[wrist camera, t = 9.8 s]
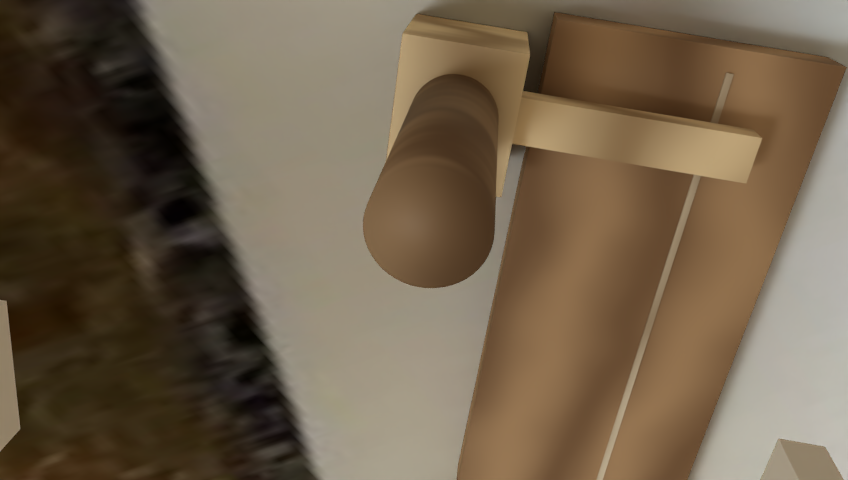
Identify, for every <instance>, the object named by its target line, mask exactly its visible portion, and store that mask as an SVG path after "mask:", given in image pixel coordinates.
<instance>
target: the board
mask: <svg viewBox="0 0 848 480" xmlns="http://www.w3.org/2000/svg"><path fill="white" fill-rule="evenodd" d="M846 68H847V67H845V66H843V65H842V64H840V63H838V62H836V61H834V60H832V59H830V58H828V57H823V56H817V55H811V54H805V53H799V52H793V51H787V50H781V49H775V48H769V47H763V46H757V45H751V44H745V43H738V42H732V41H726V40H720V39H714V38H708V37H702V36H696V35H690V34H684V33H678V32H672V31H666V30H660V29H654V28H648V27H642V26H636V25H629V24H623V23H617V22H611V21H605V20H599V19H593V18H587V17H581V16H575V15H569V14H563V13H557V12H554V17H553V22H552V26H551V31H550V36H549V40H548V45H547V50H546V54H545V59H544V64H543V69H542V73H541V78H540V83H539V87H538V92H537V93H538V94H544V95H550V96H556V97H562V98H568V99H574V100H580V101H586V102H592V103H598V104H604V105H610V106H616V107H622V108H628V109H634V110H639V111H645V112H651V113H657V114H663V115H669V116H675V117H681V118H687V119H693V120H699V121H705V122H711V123H717V124H723V125H729V126H735V127H740V128H746V129H752V130H754V131H755V132H756V133H757V134H758V135H759V136H760V137H761V138H762V140H761V143H760V146H759V149H758V152H757V155H756V157H755V160H754V163H753V166H752V169H751V172H750V174H749V177H748V180H747V183H740V182H734V181H728V180H722V179H716V178H711V177H705V176H699V175H693V174H687V173H681V172H675V171H669V170H664V169H658V168H652V167H646V166H640V165H634V164H628V163H623V162H617V161H611V160H605V159H599V158H593V157H587V156H581V155H576V154H570V153H564V152H558V151H552V150H546V149H540V148H534V147H529V146H526V148H525V153H524V158H523V162H522V167H521V172H520V177H519V181H518V186H517V191H516V195H515V200H514V205H513V209H512V214H511V219H510V224H509V228H508V233H507V238H506V242H505V247H504V252H503V256H502V261H501V266H500V271H499V275H498V280H497V285H496V289H495V294H494V299H493V303H492V308H491V313H490V318H489V322H488V327H487V332H486V336H485V341H484V346H483V350H482V355H481V360H480V364H479V369H478V374H477V379H476V383H475V388H474V393H473V397H472V402H471V407H470V411H469V416H468V421H467V426H466V430H465V435H464V440H463V444H462V449H461V454H460V458H459V463H458V472H457V480H687V479H688V476H689V474H690V471H691V468H692V466H693V463H694V461H695V458H696V456H697V453H698V450H699V448H700V445H701V443H702V440H703V437H704V435H705V432H706V430H707V427H708V424H709V422H710V419H711V417H712V414H713V412H714V409H715V406H716V404H717V401H718V399H719V396H720V393H721V391H722V388H723V386H724V383H725V381H726V378H727V375H728V373H729V370H730V368H731V365H732V362H733V360H734V357H735V355H736V352H737V349H738V347H739V344H740V342H741V339H742V337H743V334H744V331H745V329H746V326H747V324H748V321H749V318H750V316H751V313H752V311H753V308H754V306H755V303H756V300H757V298H758V295H759V293H760V290H761V287H762V285H763V282H764V280H765V277H766V274H767V272H768V269H769V267H770V264H771V262H772V259H773V256H774V254H775V251H776V249H777V246H778V243H779V241H780V238H781V236H782V233H783V231H784V228H785V225H786V223H787V220H788V218H789V215H790V212H791V210H792V207H793V205H794V202H795V200H796V197H797V194H798V192H799V189H800V187H801V184H802V181H803V179H804V176H805V174H806V171H807V168H808V166H809V163H810V161H811V158H812V156H813V153H814V150H815V148H816V145H817V143H818V140H819V137H820V135H821V132H822V130H823V127H824V125H825V122H826V119H827V117H828V114H829V112H830V109H831V106H832V104H833V101H834V99H835V96H836V93H837V91H838V88H839V86H840V83H841V81H842V78H843V75H844V73H845V70H846Z"/></svg>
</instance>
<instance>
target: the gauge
mask: <svg viewBox="0 0 848 480" xmlns="http://www.w3.org/2000/svg"><path fill="white" fill-rule="evenodd" d="M529 58H530V49H529V42H528V34H527V32H523V31H517V30H511V29H505V28H499V27H493V26H487V25H481V24H475V23H469V22H463V21H457V20H451V19H445V18H439V17H433V16H427V15H421V14H416V15H415V17H414V18H413V19H412V21H411V22H410V24H409V25H408V26H407V28H406V29H405V31H404V32H403V34H402V42H401V49H400V57H399V65H398V72H397V80H396V88H395V96H394V103H393V111H392V119H391V126H390V134H389V142H388V149H387V157H386V163H385V165H384V167H383V170H382V172H381V174H380V176H379V179H378V181H377V183H376V186H375V188H374V190H373V192H372V195H371V197H370V199H369V201H368V204H367V207H366V210H365V213H364V219H363V231H364V237H365V241H366V244H367V247H368V249H369V251H370V253H371V255H372V257H373V258H374V259H375V261H376V262H377V263H378V265H379V266H380V267H381V268H382V269H383V270H385V271H386V272H387V273H388V274H389V275H391V276H393V277H394V278H396V279H398V280H400V281H402V282H404V283H407V284H409V285H413V286H417V287H423V288H440V287H446V286H450V285H453V284H456V283H459V282H461V281H463V280H465V279H467V278H468V277H469V276H471V275H472V274H474V273H475V272H476V271H477V270H478V269H479V268H480V267H481V266H482V264H483V263H484V262H485V260H486V259H487V257H488V255H489V253H490V251H491V248H492V244H493V240H494V231H495V204H496V196H497V197H501V196H502V191H503V186H504V181H505V176H506V171H507V166H508V161H509V156H510V151H511V147H512V144H517V145H523V146H529V147H534V148H540V149H546V150H552V151H558V152H564V153H570V154H576V155H581V156H587V157H593V158H599V159H605V160H611V161H617V162H623V163H628V164H634V165H640V166H646V167H652V168H658V169H664V170H669V171H675V172H681V173H687V174H693V175H699V176H705V177H711V178H716V179H722V180H728V181H734V182H740V183H747V180H748V177H749V174H750V172H751V169H752V166H753V163H754V160H755V157H756V155H757V152H758V149H759V146H760V143H761V140H762V138H761V137H760V136H759V135H758V134H757V133H756V132H755V131H754V130H752V129H746V128H740V127H735V126H729V125H723V124H717V123H711V122H705V121H699V120H693V119H687V118H681V117H675V116H669V115H663V114H657V113H651V112H645V111H639V110H634V109H628V108H622V107H616V106H610V105H604V104H598V103H592V102H586V101H580V100H574V99H568V98H562V97H556V96H550V95H544V94H538V93H533V92H527V91H523V88H524V83H525V78H526V73H527V68H528V63H529Z"/></svg>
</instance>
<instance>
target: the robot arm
mask: <svg viewBox="0 0 848 480" xmlns="http://www.w3.org/2000/svg"><path fill="white" fill-rule="evenodd" d="M19 430H20V422H19V413H18V403H17V394H16V385H15V375H14V366H13V357H12V347H11V338H10V329H9V319H8V310H7V301H3V300H0V451H1V450H2V449H3V448H4V446H5V445H6V444H7V443H8V442H9V441H10V440H11V439H12V437H13V436H14V435H15V434H16V433H17V432H18V431H19ZM761 480H844V479H843V478H842V476H841V474H840V472H839V471H838V469H837V467H836V465H835V464H834V462H833V460H832V458H831V457H830V455H829V453H828V451H827V450H826V448H825V447H823V446H817V445H812V444H806V443H800V442H795V441H789V440H784V439H778V441H777V443H776V446H775V448H774V450H773V452H772V455H771V457H770V459H769V462H768V464H767V466H766V468H765V471H764V473H763V475H762V477H761Z"/></svg>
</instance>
